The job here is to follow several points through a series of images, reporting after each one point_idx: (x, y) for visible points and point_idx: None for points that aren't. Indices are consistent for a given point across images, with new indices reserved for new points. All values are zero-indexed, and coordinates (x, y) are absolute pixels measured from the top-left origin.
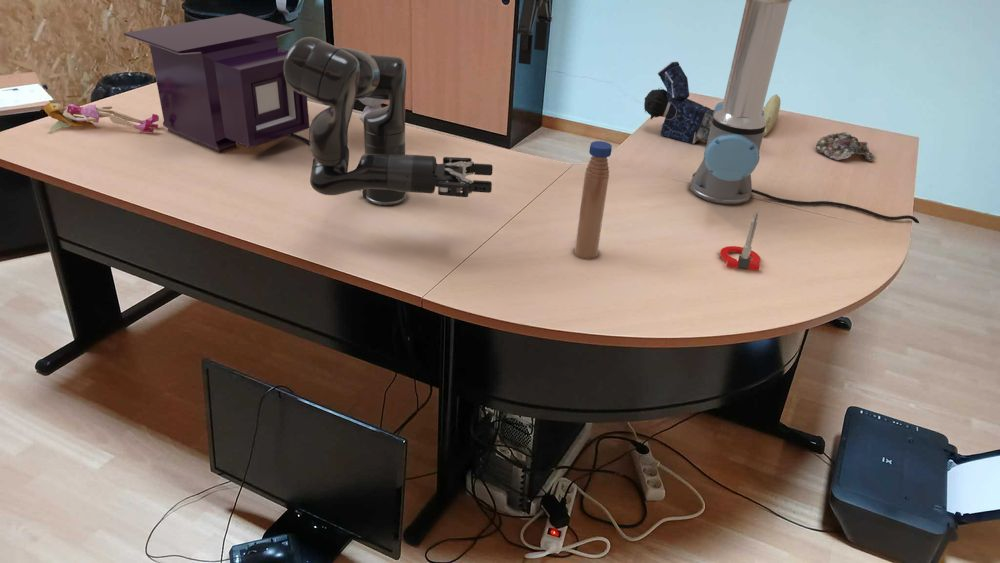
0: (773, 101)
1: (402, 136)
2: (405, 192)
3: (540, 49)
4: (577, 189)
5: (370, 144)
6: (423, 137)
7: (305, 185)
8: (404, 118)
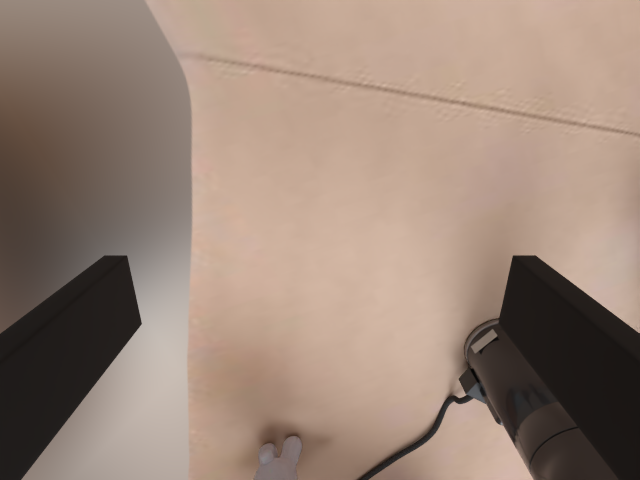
0: None
1: None
2: (496, 326)
3: (130, 286)
4: (326, 2)
5: None
6: (217, 384)
7: (485, 449)
8: (596, 452)
